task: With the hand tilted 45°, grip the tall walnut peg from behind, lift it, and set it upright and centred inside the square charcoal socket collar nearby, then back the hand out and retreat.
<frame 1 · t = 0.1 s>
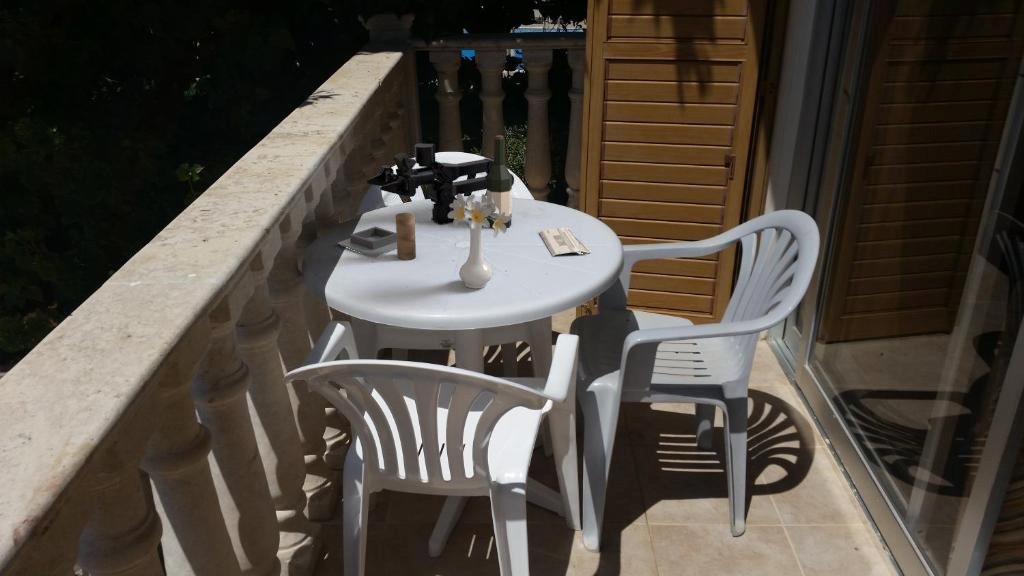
hand: (373, 185, 255), 17 cm above the table, fingers open, 9 cm apart
peg: (406, 257, 244), on the table
newspaper: (564, 245, 257), on the table
flower vase: (478, 285, 225), on the table
wine bottle: (499, 225, 272), on the table
collar: (374, 244, 253), on the table
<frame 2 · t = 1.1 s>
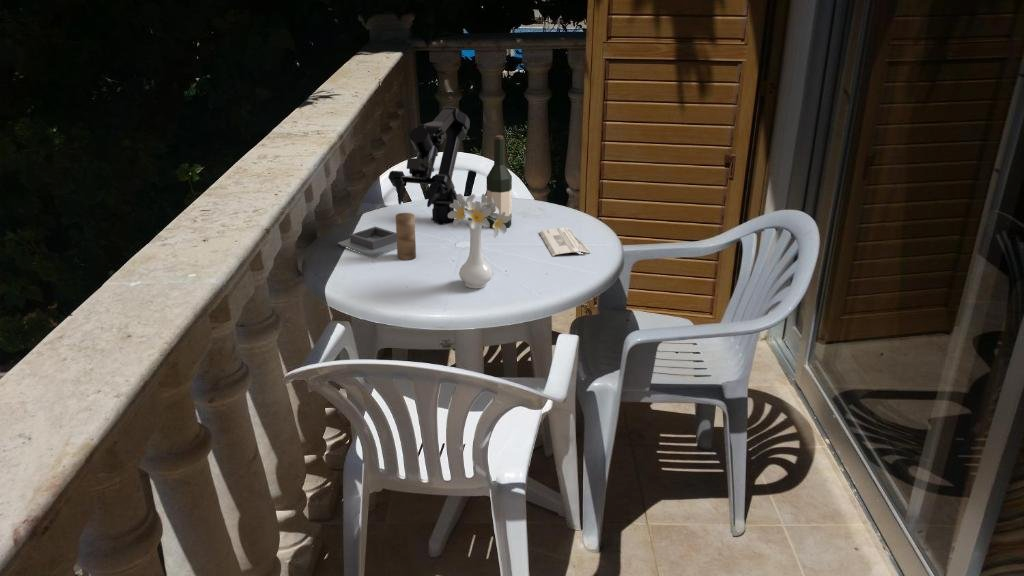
hand: (413, 205, 245), 14 cm above the table, fingers open, 9 cm apart
nothing on the table moved.
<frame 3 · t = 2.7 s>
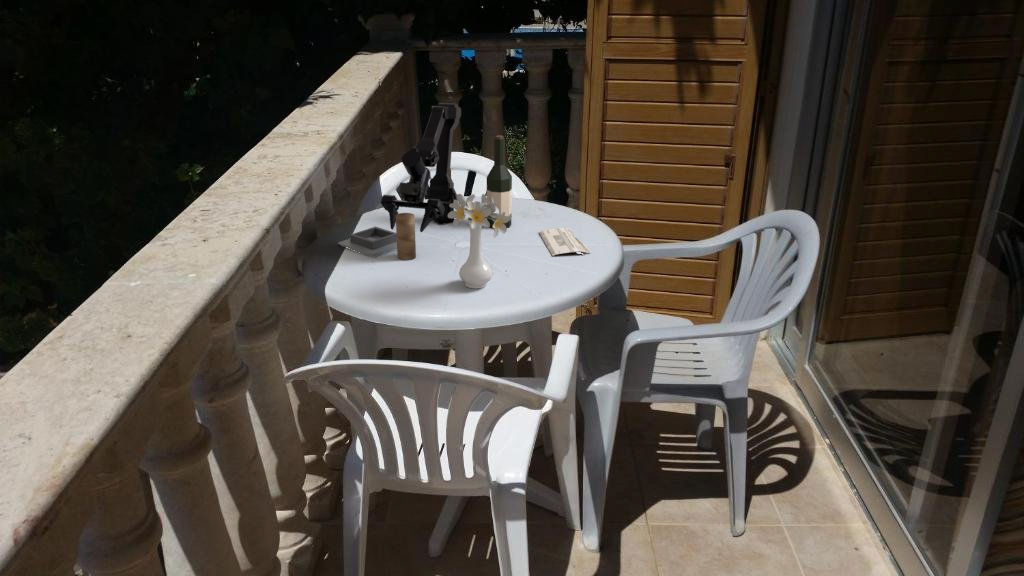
hand: (406, 230, 241), 8 cm above the table, fingers open, 9 cm apart
nothing on the table moved.
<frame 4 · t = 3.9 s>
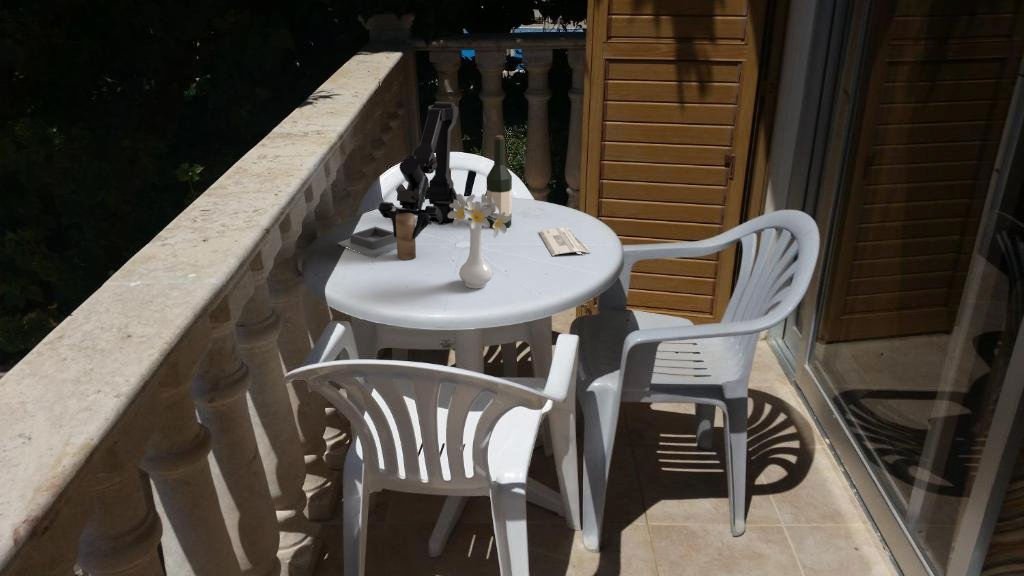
hand: (404, 237, 240), 7 cm above the table, fingers closed on peg, 5 cm apart
peg: (406, 257, 244), on the table, touching gripper
everything else where it was.
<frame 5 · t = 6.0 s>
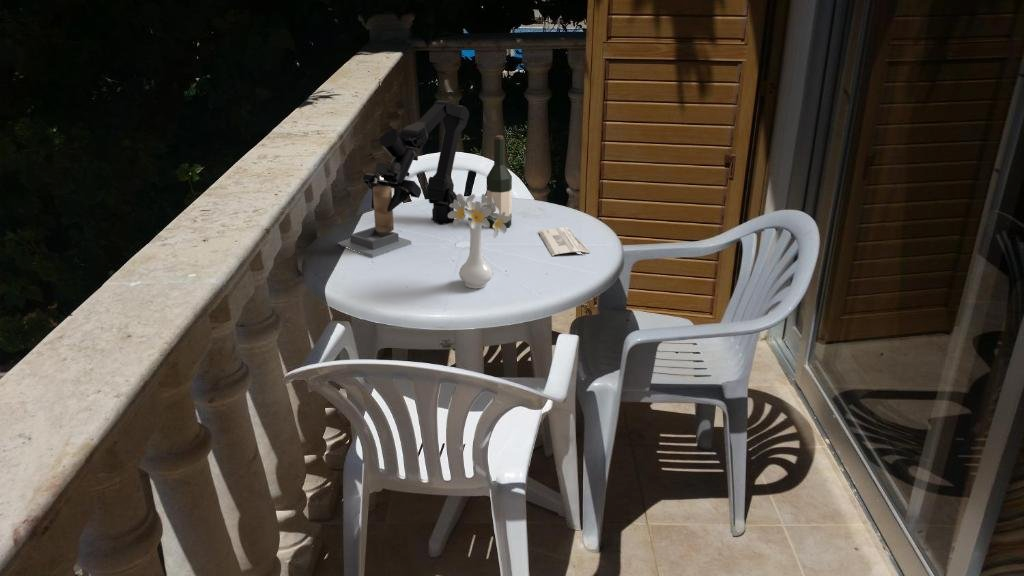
hand: (380, 209, 242), 13 cm above the table, fingers closed on peg, 5 cm apart
peg: (384, 229, 246), point 7 cm above the table, touching gripper
everything else where it was.
when the fingers open (9 cm above the table, at t = 8.0 s): peg drops 1 cm, resting on collar.
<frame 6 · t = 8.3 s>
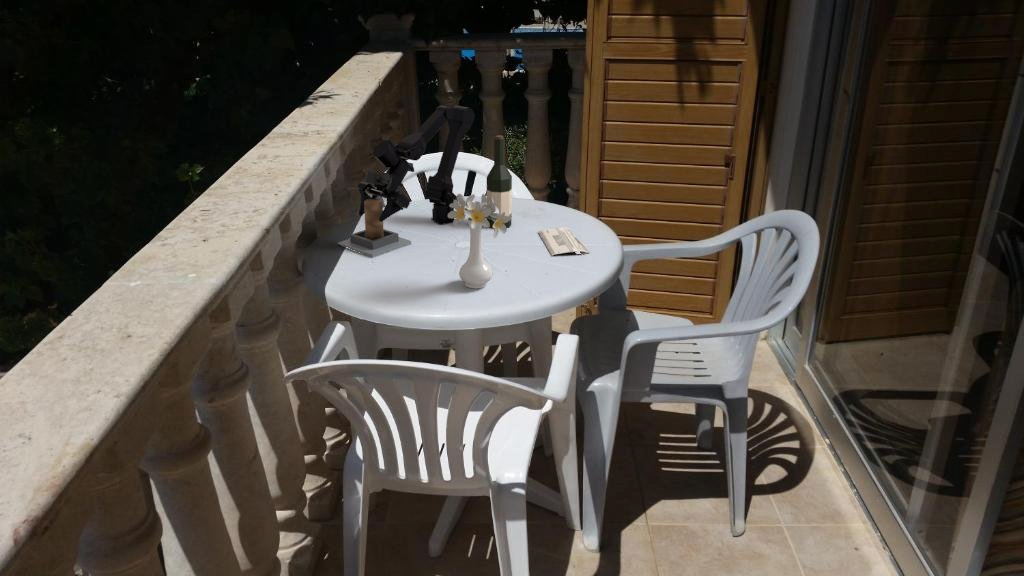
hand: (369, 218, 249), 9 cm above the table, fingers open, 9 cm apart
peg: (374, 241, 253), point 1 cm above the table, touching collar
everything else where it was.
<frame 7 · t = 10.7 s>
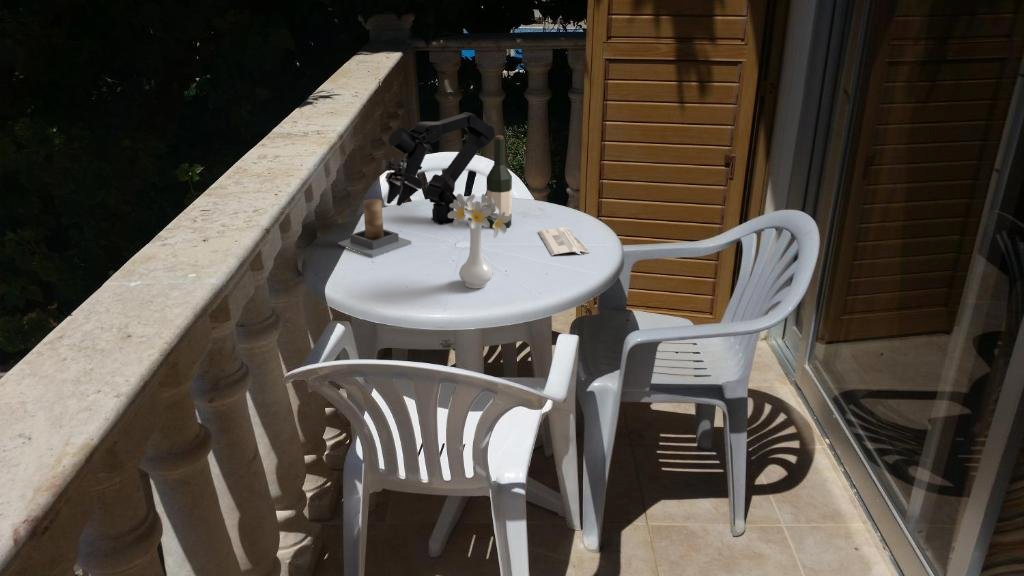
hand: (392, 204, 257), 10 cm above the table, fingers open, 9 cm apart
nothing on the table moved.
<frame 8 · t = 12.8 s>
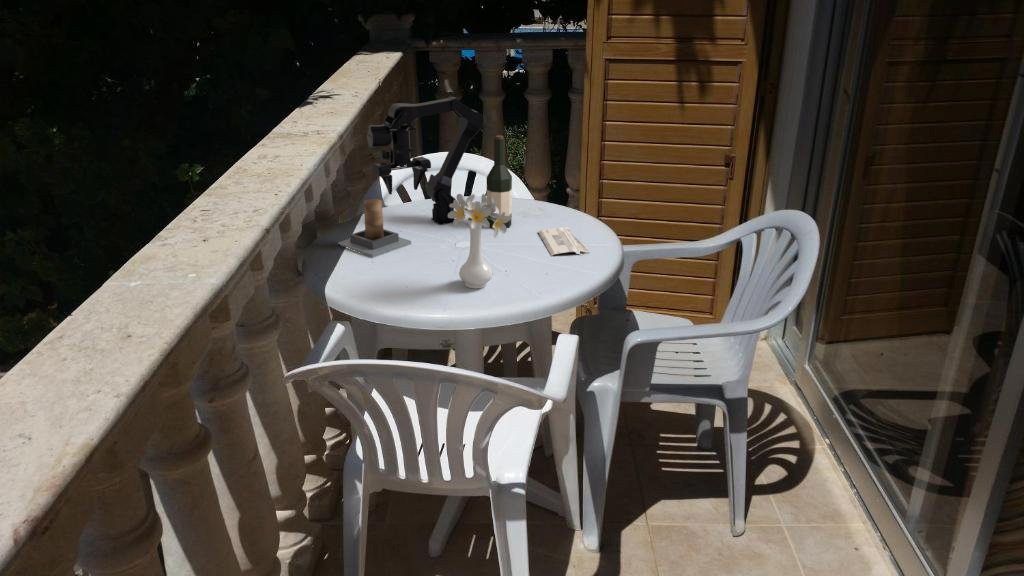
hand: (403, 191, 264), 12 cm above the table, fingers open, 9 cm apart
nothing on the table moved.
at the end: peg 0.1 cm off-centre on the collar, point 1.0 cm above the collar's base; peg tilted 1°; the gripper is holding nothing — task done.
